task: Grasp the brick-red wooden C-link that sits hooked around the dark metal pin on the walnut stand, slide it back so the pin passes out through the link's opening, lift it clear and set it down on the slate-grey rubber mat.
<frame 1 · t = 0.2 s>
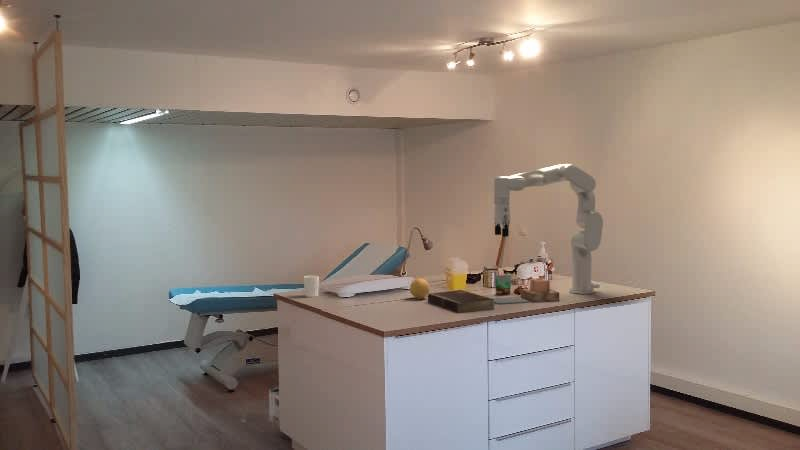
hand: (501, 235, 360), 31 cm above the table, tool pointing down, fingers open, 9 cm apart
stand: (539, 298, 355), on the table
food container: (505, 294, 371), on the table
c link: (539, 290, 355), point 4 cm above the table, touching stand
mat: (508, 301, 350), on the table
stress ball: (419, 298, 359), on the table
hardback book: (459, 307, 340), on the table
white cup: (311, 296, 368), on the table
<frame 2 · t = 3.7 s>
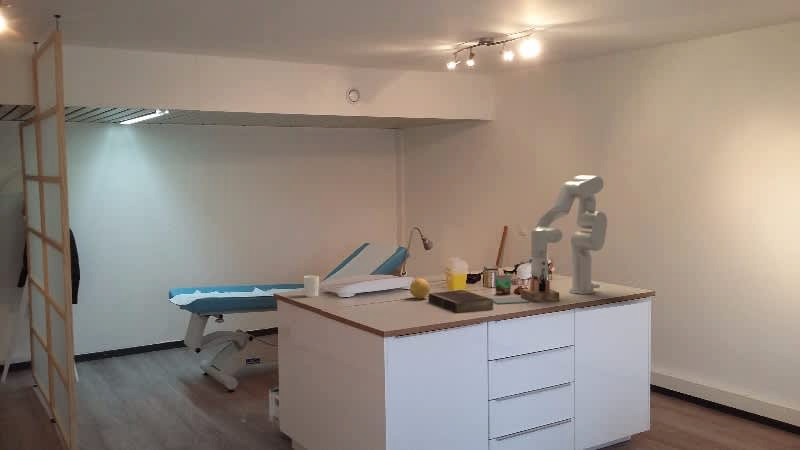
hand: (538, 289, 355), 5 cm above the table, tool pointing down, fingers closed on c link, 7 cm apart
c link: (539, 290, 355), point 4 cm above the table, touching gripper, stand
everything else where it was.
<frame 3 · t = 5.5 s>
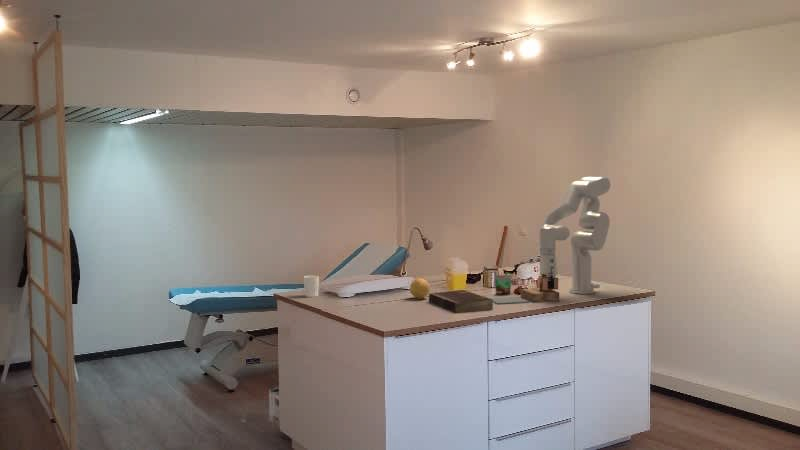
hand: (547, 287, 356), 6 cm above the table, tool pointing down, fingers closed on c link, 7 cm apart
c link: (548, 288, 356), point 5 cm above the table, touching gripper
everything else where it was.
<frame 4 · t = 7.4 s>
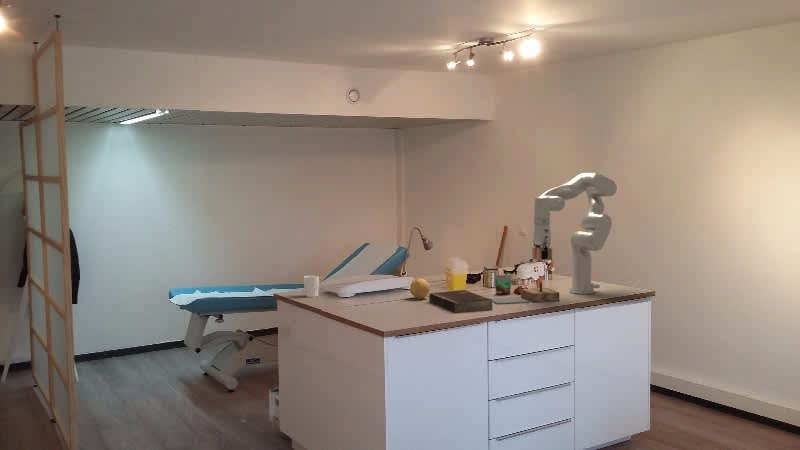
hand: (541, 257, 353), 20 cm above the table, tool pointing down, fingers closed on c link, 7 cm apart
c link: (541, 259, 354), point 20 cm above the table, touching gripper
everything else where it was.
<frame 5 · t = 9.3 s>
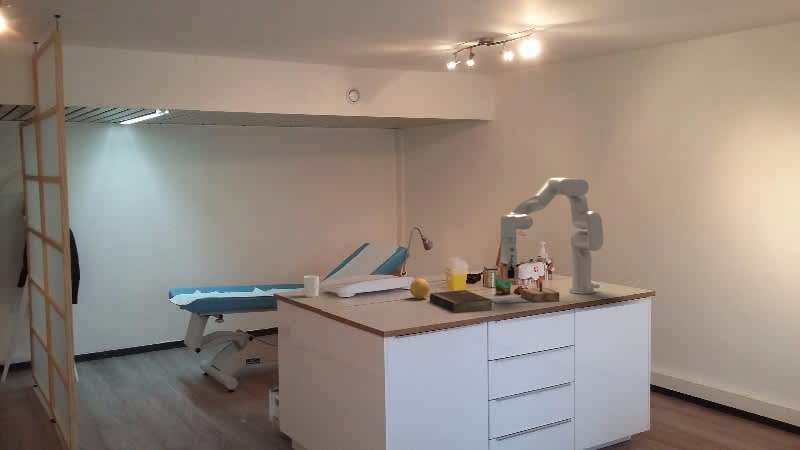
hand: (507, 276, 349), 12 cm above the table, tool pointing down, fingers closed on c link, 7 cm apart
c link: (508, 277, 349), point 11 cm above the table, touching gripper
everything else where it was.
when the fingers open (3 cm above the table, at t = 11.2 s): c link drops 2 cm, resting on mat.
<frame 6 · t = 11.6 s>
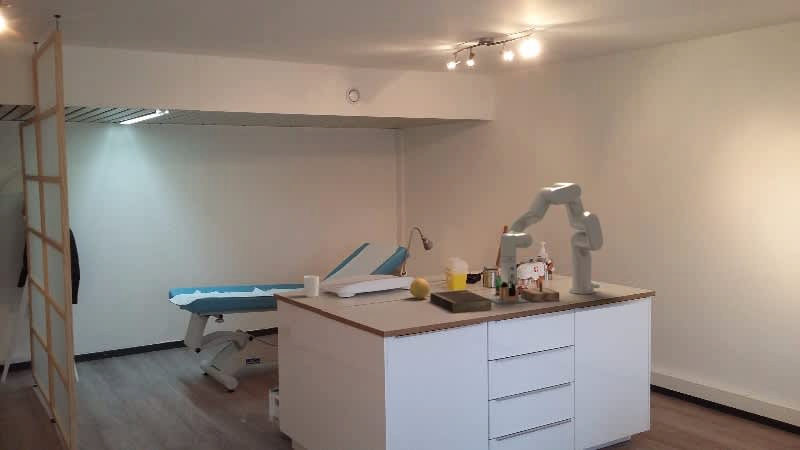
hand: (508, 294, 350), 3 cm above the table, tool pointing down, fingers open, 9 cm apart
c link: (509, 299, 350), point 1 cm above the table, touching mat
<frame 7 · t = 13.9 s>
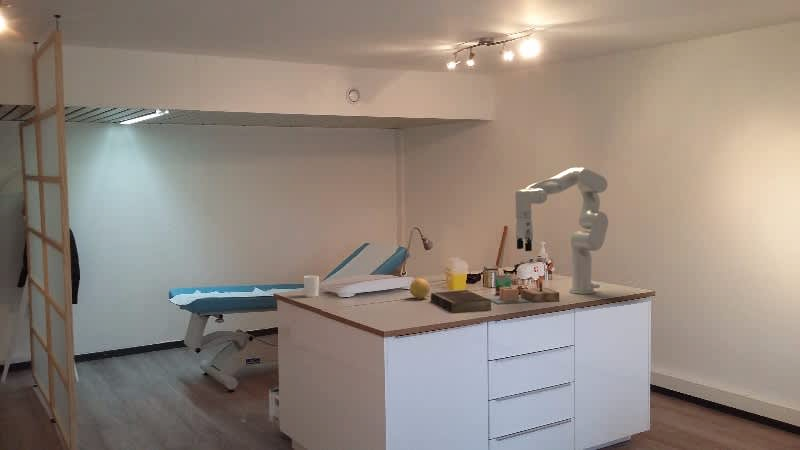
hand: (524, 249, 354), 24 cm above the table, tool pointing down, fingers open, 9 cm apart
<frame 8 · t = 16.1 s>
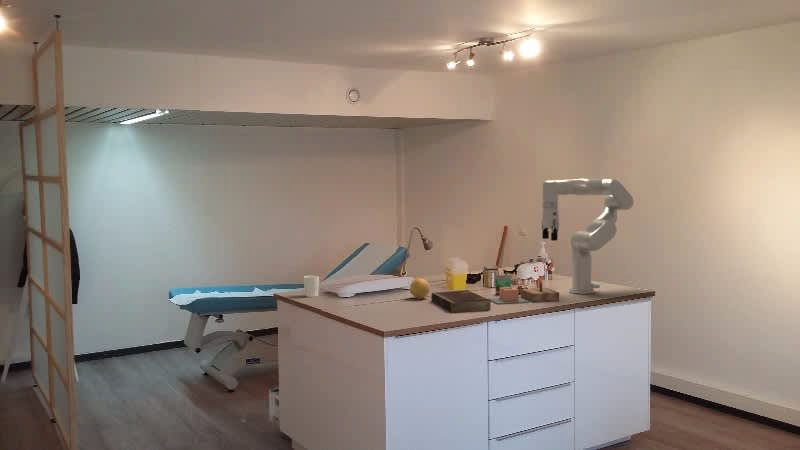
hand: (549, 239, 363), 28 cm above the table, tool pointing down, fingers open, 9 cm apart
at the end: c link inside the target area on the mat (0.5 cm from its centre), point 0.6 cm above the mat's base; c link tilted 0°; the gripper is holding nothing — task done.
